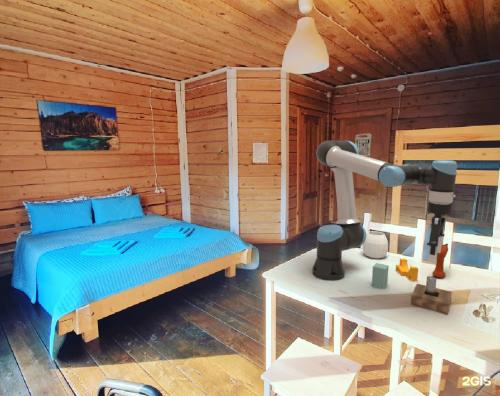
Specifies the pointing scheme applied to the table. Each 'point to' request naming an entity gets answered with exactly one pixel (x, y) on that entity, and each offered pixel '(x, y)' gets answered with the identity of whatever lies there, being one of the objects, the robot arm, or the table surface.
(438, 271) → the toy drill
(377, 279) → the grey-green rectangular block
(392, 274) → the table surface
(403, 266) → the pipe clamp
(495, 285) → the table surface
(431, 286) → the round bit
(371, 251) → the white round pot
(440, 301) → the socket block
